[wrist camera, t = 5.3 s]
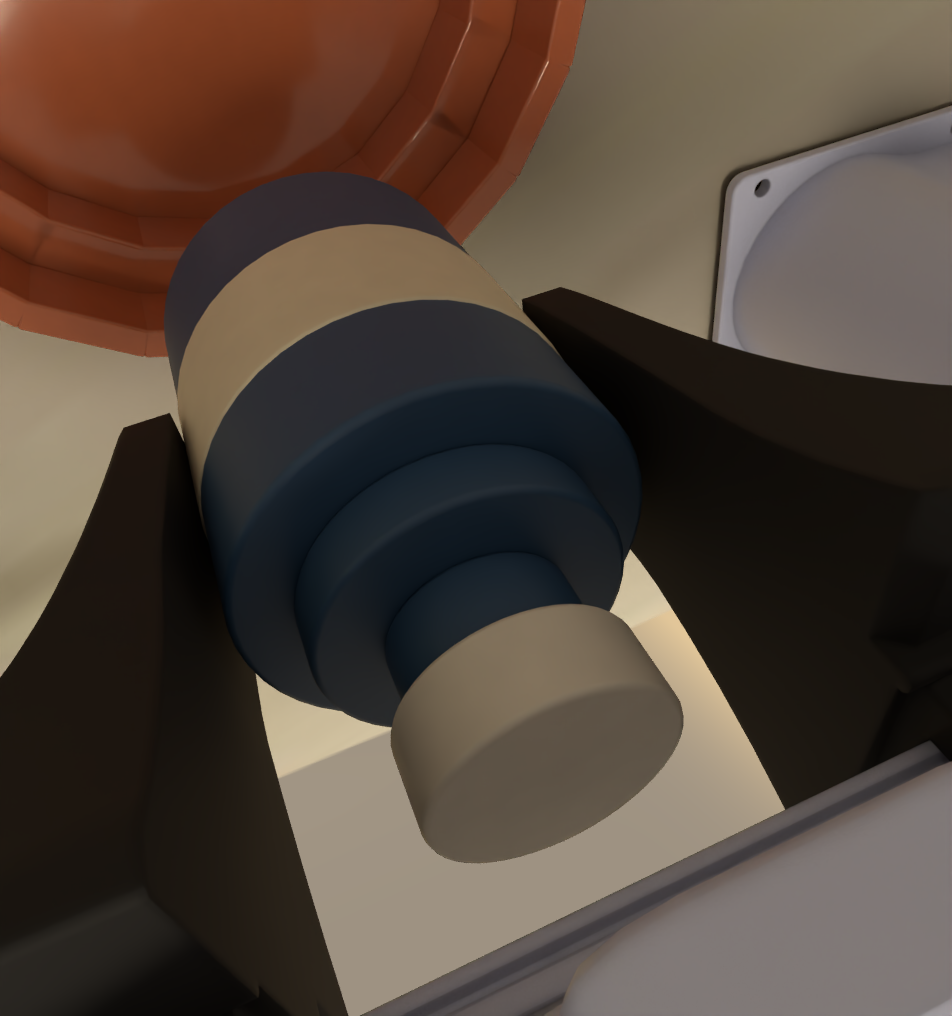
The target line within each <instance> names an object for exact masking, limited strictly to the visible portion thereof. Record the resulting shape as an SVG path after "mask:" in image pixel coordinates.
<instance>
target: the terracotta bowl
mask: <svg viewBox="0 0 952 1016" xmlns="http://www.w3.org/2000/svg"><path fill="white" fill-rule="evenodd" d="M585 2H586V0H0V320H2V321H4V322H6V323H8V324H10V325H12V326H14V327H17V326H18V328H19V329H21V330H26V331H30V332H35V333H39V334H44V335H48V336H52V337H57V338H61V339H66V340H70V341H75V342H79V343H84V344H88V345H93V346H97V347H101V348H106V349H110V350H115V351H119V352H124V353H128V354H133V355H137V356H142V357H143V356H146V357H168V352H167V348H166V343H165V334H164V312H165V301H166V296H167V292H168V289H169V285H170V281H171V278H172V275H173V273H174V271H175V268H176V266H177V264H178V261H179V259H180V258H181V256H182V254H183V253H184V251H185V249H186V248H187V246H188V244H189V243H190V241H191V240H192V239H193V237H194V236H195V235H196V234H197V233H198V231H199V230H200V229H201V228H202V226H203V225H204V224H205V223H206V222H207V221H208V220H209V219H210V218H212V217H213V216H214V215H215V214H216V213H217V212H218V211H219V210H220V209H221V208H223V207H224V206H226V205H227V204H229V203H230V202H231V201H233V200H234V199H236V198H237V197H239V196H240V195H242V194H244V193H246V192H248V191H250V190H252V189H254V188H256V187H258V186H260V185H262V184H265V183H268V182H271V181H274V180H277V179H280V178H282V177H287V176H292V175H297V174H302V173H312V172H341V173H351V174H356V175H361V176H365V177H370V178H373V179H376V180H378V181H381V182H384V183H387V184H389V185H391V186H393V187H395V188H397V189H399V190H401V191H403V192H404V193H406V194H408V195H409V196H411V197H412V198H413V199H415V200H416V201H417V202H419V203H420V204H422V205H423V206H424V207H425V208H426V209H427V210H428V211H429V212H430V213H431V214H432V215H433V216H434V217H435V218H436V219H437V220H438V221H439V222H440V223H441V224H442V225H443V227H444V228H445V229H446V230H447V231H448V232H449V233H450V234H451V235H452V237H453V238H454V239H455V240H456V241H457V242H458V243H459V244H460V246H461V244H462V243H463V242H464V241H465V240H466V239H467V237H468V236H469V235H470V234H471V233H472V231H473V230H474V229H475V228H476V227H477V226H478V224H479V223H480V222H481V221H482V220H483V219H484V217H485V216H486V215H487V214H488V213H489V212H490V210H491V209H492V208H493V207H494V206H495V204H496V203H497V202H498V201H499V200H500V199H501V197H502V196H503V195H504V194H505V193H506V192H507V190H508V189H509V188H510V187H511V186H512V185H513V183H514V182H515V181H516V179H517V178H516V176H519V175H520V173H521V171H522V169H523V167H524V165H525V162H526V160H527V158H528V156H529V154H530V152H531V150H532V148H533V146H534V144H535V142H536V140H537V138H538V135H539V133H540V131H541V129H542V127H543V125H544V123H545V121H546V119H547V117H548V115H549V113H550V110H551V108H552V106H553V104H554V102H555V100H556V98H557V96H558V94H559V92H560V90H561V88H562V86H563V83H564V81H565V79H566V77H567V75H568V73H569V71H570V67H569V66H571V65H572V63H573V58H574V53H575V49H576V44H577V39H578V35H579V30H580V25H581V21H582V16H583V11H584V6H585Z"/></svg>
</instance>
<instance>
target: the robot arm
mask: <svg viewBox="0 0 952 1016" xmlns="http://www.w3.org/2000/svg"><path fill="white" fill-rule="evenodd" d="M761 180H762V183H761V186H760V187H759V188H758V190H757V191H755V188H756V186H757V184H758V183H759V182H760V181H761ZM522 305H523V312H524V313H525V314H526V316H527V317H528V318H529V319H530V320H531V321H532V322H533V323H534V324H535V326H536V327H537V328H538V329H539V330H540V331H541V332H542V333H543V334H544V336H545V337H546V338H547V339H548V340H549V341H550V342H551V343H552V345H553V346H554V347H555V349H556V350H557V352H558V353H559V354H560V356H561V357H562V359H563V360H564V361H565V363H566V364H567V365H568V366H569V367H570V368H571V369H572V370H573V372H574V373H575V374H576V375H577V376H578V377H579V378H580V379H581V380H582V382H583V383H584V384H585V385H586V386H587V387H588V388H589V389H590V390H591V392H592V393H593V394H594V395H595V396H596V397H597V398H598V399H599V401H600V402H601V403H602V404H603V405H604V406H605V407H606V408H607V409H608V411H609V412H610V413H611V414H612V415H613V416H614V417H615V418H616V419H617V421H618V422H619V424H620V425H621V426H622V428H623V429H624V431H625V432H626V434H627V435H628V436H629V439H630V441H631V443H632V445H633V448H634V450H635V452H636V455H637V459H638V463H639V468H640V472H641V477H642V505H641V514H640V519H639V523H638V527H637V531H636V535H635V537H634V540H633V543H632V545H631V548H630V549H631V551H632V552H633V553H634V554H635V556H636V557H637V558H638V559H639V561H640V562H641V563H642V565H643V566H644V567H645V569H646V570H647V572H648V573H649V574H650V576H651V577H652V578H653V580H654V581H655V583H656V584H657V586H658V587H659V589H660V590H661V592H662V593H663V595H664V597H665V598H666V600H667V601H668V603H669V605H670V606H671V608H672V609H673V611H674V613H675V614H676V616H677V617H678V619H679V620H680V622H681V624H682V625H683V627H684V628H685V630H686V632H687V633H688V635H689V636H690V638H691V640H692V642H693V643H694V645H695V646H696V648H697V650H698V652H699V653H700V655H701V656H702V658H703V660H704V662H705V663H706V665H707V667H708V668H709V670H710V672H711V674H712V675H713V677H714V679H715V680H716V682H717V684H718V685H719V687H720V689H721V691H722V693H723V694H724V696H725V698H726V700H727V702H728V703H729V705H730V707H731V709H732V710H733V712H734V714H735V716H736V718H737V719H738V721H739V723H740V725H741V727H742V728H743V730H744V732H745V734H746V736H747V737H748V739H749V741H750V743H751V745H752V746H753V748H754V750H755V752H756V754H757V756H758V758H759V760H760V762H761V764H762V766H763V768H764V769H765V771H766V773H767V775H768V777H769V779H770V781H771V783H772V785H773V787H774V788H775V790H776V792H777V794H778V796H779V798H780V800H781V802H782V804H783V806H784V808H785V810H784V811H782V812H780V813H778V814H776V815H774V816H772V817H770V818H767V819H765V820H763V821H761V822H760V823H757V824H755V825H753V826H751V827H749V828H747V829H745V830H743V831H741V832H739V833H736V834H734V835H732V836H730V837H728V838H726V839H724V840H722V841H720V842H718V843H716V844H714V845H712V846H710V847H708V848H705V849H703V850H701V851H699V852H697V853H695V854H693V855H691V856H689V857H687V858H685V859H683V860H681V861H679V862H676V863H674V864H672V865H670V866H668V867H666V868H664V869H662V870H660V871H658V872H656V873H654V874H652V875H650V876H648V877H646V878H643V879H641V880H639V881H637V882H635V883H633V884H631V885H629V886H627V887H625V888H623V889H621V890H619V891H617V892H615V893H613V894H610V895H608V896H606V897H604V898H602V899H600V900H598V901H596V902H594V903H592V904H590V905H588V906H586V907H584V908H581V909H580V910H577V911H575V912H573V913H571V914H569V915H567V916H565V917H563V918H561V919H559V920H557V921H555V922H553V923H550V924H548V925H546V926H544V927H542V928H540V929H538V930H536V931H534V932H532V933H530V934H528V935H526V936H524V937H522V938H520V939H517V940H515V941H513V942H511V943H509V944H507V945H505V946H503V947H501V948H499V949H497V950H495V951H493V952H491V953H489V954H486V955H484V956H482V957H480V958H478V959H476V960H474V961H472V962H470V963H468V964H466V965H464V966H462V967H460V968H458V969H456V970H453V971H451V972H449V973H447V974H445V975H443V976H441V977H439V978H437V979H435V980H433V981H431V982H429V983H427V984H424V985H423V986H420V987H418V988H416V989H414V990H412V991H410V992H408V993H406V994H404V995H402V996H400V997H398V998H396V999H393V1000H392V1001H389V1002H387V1003H385V1004H383V1005H381V1006H379V1007H377V1008H375V1009H373V1010H371V1011H369V1012H367V1013H365V1014H362V1015H360V1016H952V106H949V107H946V108H942V109H939V110H936V111H933V112H930V113H927V114H923V115H920V116H917V117H914V118H911V119H908V120H905V121H901V122H898V123H895V124H892V125H889V126H886V127H882V128H879V129H876V130H873V131H870V132H867V133H864V134H860V135H857V136H854V137H851V138H848V139H845V140H841V141H838V142H835V143H832V144H829V145H826V146H822V147H819V148H816V149H813V150H810V151H807V152H804V153H800V154H797V155H794V156H791V157H788V158H785V159H781V160H778V161H775V162H772V163H769V164H766V165H762V166H759V167H756V168H753V169H750V170H747V171H744V172H741V173H739V174H737V175H736V176H735V177H734V178H733V179H732V180H731V182H730V183H729V185H728V187H727V191H726V197H725V208H724V219H723V229H722V240H721V251H720V262H719V273H718V283H717V294H716V305H715V316H714V327H713V337H712V341H709V340H706V339H703V338H700V337H697V336H694V335H691V334H688V333H685V332H682V331H680V330H677V329H674V328H671V327H668V326H666V325H663V324H660V323H657V322H655V321H652V320H649V319H647V318H644V317H641V316H639V315H636V314H634V313H631V312H628V311H626V310H623V309H621V308H618V307H615V306H613V305H610V304H608V303H605V302H603V301H600V300H597V299H595V298H592V297H589V296H587V295H584V294H581V293H578V292H575V291H572V290H569V289H565V288H562V287H559V288H556V289H553V290H550V291H547V292H544V293H540V294H537V295H534V296H531V297H528V298H525V299H522ZM0 1016H348V1013H347V1010H346V1007H345V1004H344V1000H343V997H342V994H341V991H340V987H339V985H338V981H337V978H336V975H335V971H334V968H333V965H332V962H331V959H330V955H329V952H328V949H327V946H326V943H325V939H324V936H323V933H322V929H321V926H320V922H319V919H318V916H317V912H316V909H315V906H314V903H313V899H312V896H311V893H310V889H309V886H308V883H307V879H306V876H305V872H304V869H303V866H302V862H301V859H300V855H299V852H298V848H297V845H296V841H295V838H294V834H293V831H292V827H291V824H290V820H289V817H288V813H287V810H286V806H285V803H284V799H283V796H282V792H281V788H280V785H279V781H278V777H277V774H276V770H275V766H274V763H273V759H272V756H271V752H270V748H269V745H268V741H267V736H266V731H265V726H264V721H263V717H262V711H261V705H260V699H259V693H258V686H257V680H256V674H255V672H254V671H253V670H252V669H251V668H250V667H249V666H248V665H247V664H246V662H245V661H244V660H243V658H242V657H241V655H240V654H239V652H238V651H237V650H236V648H235V646H234V644H233V642H232V639H231V637H230V635H229V632H228V630H227V627H226V622H225V617H224V613H223V608H222V603H221V599H220V594H219V589H218V585H217V580H216V575H215V571H214V566H213V561H212V557H211V552H210V548H209V543H208V540H207V537H206V535H205V533H204V530H203V527H202V523H201V518H200V513H199V509H198V504H197V499H196V495H195V490H194V485H193V480H192V476H191V471H190V466H189V461H188V457H187V452H186V447H185V443H184V441H183V439H182V437H181V435H180V433H179V431H178V429H177V427H176V425H175V423H174V421H173V419H172V417H171V415H170V413H168V414H165V415H162V416H159V417H156V418H153V419H149V420H146V421H143V422H140V423H137V424H134V425H131V426H128V427H125V428H123V430H122V432H121V434H120V436H119V438H118V441H117V444H116V447H115V450H114V453H113V455H112V458H111V461H110V464H109V467H108V470H107V473H106V475H105V478H104V481H103V483H102V486H101V489H100V491H99V494H98V497H97V499H96V502H95V504H94V507H93V509H92V511H91V514H90V516H89V519H88V521H87V523H86V526H85V528H84V531H83V533H82V535H81V538H80V540H79V542H78V544H77V547H76V549H75V551H74V553H73V555H72V557H71V559H70V561H69V563H68V565H67V567H66V569H65V571H64V573H63V575H62V577H61V579H60V581H59V583H58V585H57V587H56V589H55V591H54V593H53V595H52V597H51V599H50V600H49V602H48V604H47V606H46V608H45V609H44V611H43V613H42V615H41V617H40V618H39V620H38V622H37V623H36V625H35V627H34V628H33V630H32V631H31V633H30V634H29V636H28V638H27V639H26V641H25V642H24V644H23V645H22V647H21V649H20V650H19V652H18V653H17V655H16V656H15V658H14V659H13V661H12V662H11V664H10V665H9V666H8V668H7V669H6V671H5V672H4V673H3V675H2V676H1V677H0Z"/></svg>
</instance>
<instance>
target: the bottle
mask: <svg viewBox="0 0 952 1016" xmlns="http://www.w3.org/2000/svg"><path fill="white" fill-rule="evenodd" d="M164 334H165V343H166V348H167V352H168V357H169V362H170V366H171V371H172V376H173V380H174V385H175V390H176V394H177V399H178V414H179V419H180V424H181V428H182V433H183V438H184V443H185V447H186V452H187V457H188V461H189V466H190V471H191V476H192V480H193V485H194V490H195V495H196V499H197V504H198V509H199V513H200V518H201V523H202V527H203V530H204V533H205V535H206V537H207V540H208V543H209V548H210V552H211V557H212V561H213V566H214V571H215V575H216V580H217V585H218V589H219V594H220V599H221V603H222V608H223V613H224V617H225V622H226V627H227V630H228V632H229V635H230V637H231V639H232V642H233V644H234V646H235V648H236V650H237V651H238V652H239V654H240V655H241V657H242V658H243V660H244V661H245V662H246V664H247V665H248V666H249V667H250V668H251V669H252V670H253V671H254V672H255V673H256V674H257V675H258V676H259V677H260V678H261V679H262V680H263V681H265V682H266V683H268V684H269V685H271V686H272V687H274V688H275V689H277V690H278V691H279V692H281V693H283V694H285V695H288V696H290V697H292V698H294V699H296V700H298V701H301V702H304V703H307V704H311V705H314V706H317V707H321V708H327V709H333V710H338V711H343V712H344V713H345V714H347V715H349V716H351V717H354V718H356V719H358V720H360V721H364V722H367V723H370V724H374V725H379V726H385V727H392V729H391V748H392V752H393V756H394V759H395V761H396V764H397V767H398V770H399V772H400V775H401V778H402V781H403V783H404V786H405V789H406V792H407V795H408V798H409V800H410V803H411V806H412V809H413V812H414V814H415V817H416V820H417V823H418V825H419V828H420V831H421V834H422V836H423V838H424V840H425V841H426V843H427V844H428V845H429V846H430V847H431V848H432V849H433V850H434V851H435V852H436V853H437V854H439V855H441V856H443V857H444V858H447V859H450V860H453V861H458V862H464V863H488V862H497V861H503V860H508V859H512V858H516V857H521V856H524V855H527V854H530V853H534V852H537V851H540V850H542V849H545V848H548V847H551V846H553V845H555V844H557V843H560V842H562V841H565V840H567V839H569V838H571V837H573V836H575V835H577V834H579V833H581V832H583V831H584V830H586V829H588V828H590V827H592V826H593V825H595V824H597V823H598V822H600V821H601V820H603V819H604V818H606V817H608V816H609V815H611V814H612V813H613V812H615V811H616V810H618V809H619V808H620V807H622V806H623V805H624V804H625V803H627V802H628V801H629V800H631V799H632V798H633V797H634V796H635V795H636V794H638V793H639V792H640V791H641V790H642V789H643V788H644V787H645V786H646V785H647V784H648V783H649V782H650V781H651V780H652V779H653V778H654V777H655V776H656V775H657V773H658V772H659V771H660V770H661V769H662V768H663V767H664V765H665V764H666V762H667V761H668V760H669V758H670V757H671V755H672V754H673V752H674V750H675V748H676V746H677V744H678V742H679V739H680V737H681V734H682V729H683V712H682V707H681V703H680V701H679V699H678V697H677V696H676V694H675V693H674V691H673V690H672V688H671V687H670V685H669V684H668V683H667V681H666V680H665V678H664V677H663V675H662V674H661V672H660V671H659V669H658V668H657V667H656V665H655V664H654V662H653V661H652V659H651V658H650V656H649V655H648V654H647V652H646V651H645V649H644V648H643V647H642V645H641V643H640V642H639V641H638V639H637V638H636V636H635V635H634V633H633V632H632V630H631V629H630V628H629V626H628V625H627V624H626V623H625V622H624V621H623V620H622V619H620V618H619V617H617V616H616V615H614V614H612V613H611V612H609V611H610V610H611V608H612V606H613V604H614V601H615V599H616V596H617V594H618V592H619V588H620V584H621V581H622V577H623V567H624V561H625V559H626V557H627V555H628V553H629V550H630V548H631V545H632V543H633V540H634V537H635V535H636V531H637V527H638V523H639V519H640V514H641V505H642V477H641V472H640V468H639V463H638V459H637V455H636V452H635V450H634V448H633V445H632V443H631V441H630V439H629V436H628V435H627V434H626V432H625V431H624V429H623V428H622V426H621V425H620V424H619V422H618V421H617V419H616V418H615V417H614V416H613V415H612V414H611V413H610V412H609V411H608V409H607V408H606V407H605V406H604V405H603V404H602V403H601V402H600V401H599V399H598V398H597V397H596V396H595V395H594V394H593V393H592V392H591V390H590V389H589V388H588V387H587V386H586V385H585V384H584V383H583V382H582V380H581V379H580V378H579V377H578V376H577V375H576V374H575V373H574V372H573V370H572V369H571V368H570V367H569V366H568V365H567V364H566V363H565V361H564V360H563V359H562V357H561V356H560V354H559V353H558V352H557V350H556V349H555V347H554V346H553V345H552V343H551V342H550V341H549V340H548V339H547V338H546V337H545V336H544V334H543V333H542V332H541V331H540V330H539V329H538V328H537V327H536V326H535V324H534V323H533V322H532V321H531V320H530V319H529V318H528V317H527V316H526V314H525V313H524V312H523V311H522V310H521V309H520V308H519V307H518V306H517V304H516V303H515V302H514V301H513V300H512V299H511V298H510V297H509V296H508V295H507V293H506V292H505V291H504V290H503V289H502V288H501V287H500V286H499V285H498V283H497V282H496V281H495V280H494V279H493V278H492V277H491V276H490V275H489V274H488V273H487V272H486V271H485V270H484V269H483V268H482V267H481V266H480V265H479V264H478V263H477V262H476V261H475V260H474V259H473V258H472V257H470V256H469V254H468V253H467V252H466V251H465V250H464V249H463V248H462V247H461V246H460V244H459V243H458V242H457V241H456V240H455V239H454V238H453V237H452V235H451V234H450V233H449V232H448V231H447V230H446V229H445V228H444V227H443V225H442V224H441V223H440V222H439V221H438V220H437V219H436V218H435V217H434V216H433V215H432V214H431V213H430V212H429V211H428V210H427V209H426V208H425V207H424V206H423V205H422V204H420V203H419V202H417V201H416V200H415V199H413V198H412V197H411V196H409V195H408V194H406V193H404V192H403V191H401V190H399V189H397V188H395V187H393V186H391V185H389V184H387V183H384V182H381V181H378V180H376V179H373V178H370V177H365V176H361V175H356V174H351V173H341V172H312V173H302V174H297V175H292V176H287V177H282V178H280V179H277V180H274V181H271V182H268V183H265V184H262V185H260V186H258V187H256V188H254V189H252V190H250V191H248V192H246V193H244V194H242V195H240V196H239V197H237V198H236V199H234V200H233V201H231V202H230V203H229V204H227V205H226V206H224V207H223V208H221V209H220V210H219V211H218V212H217V213H216V214H215V215H214V216H213V217H212V218H210V219H209V220H208V221H207V222H206V223H205V224H204V225H203V226H202V228H201V229H200V230H199V231H198V233H197V234H196V235H195V236H194V237H193V239H192V240H191V241H190V243H189V244H188V246H187V248H186V249H185V251H184V253H183V254H182V256H181V258H180V259H179V261H178V264H177V266H176V268H175V271H174V273H173V275H172V278H171V281H170V285H169V289H168V292H167V296H166V301H165V312H164Z"/></svg>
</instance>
